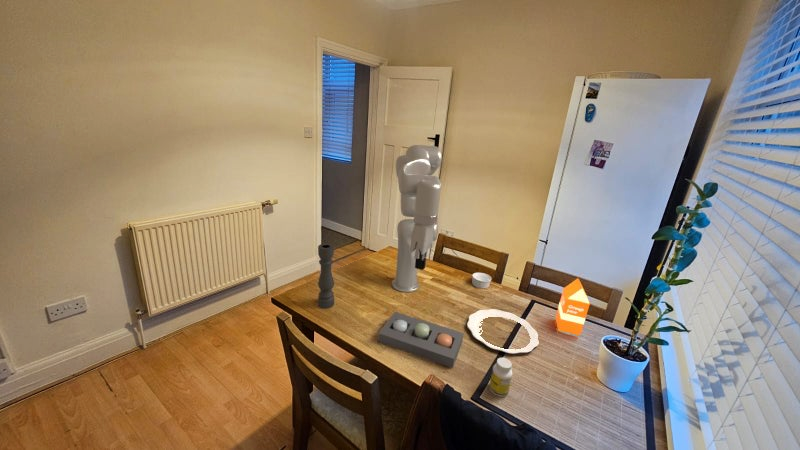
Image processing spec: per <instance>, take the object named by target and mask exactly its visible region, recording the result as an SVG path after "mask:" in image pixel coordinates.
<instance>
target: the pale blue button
mask: <svg viewBox="0 0 800 450" xmlns="http://www.w3.org/2000/svg"><path fill="white" fill-rule="evenodd" d="M393 330H396V331H399V332H402V333H405V332H406V331H407V323H406V322H405V321H404V320H396V321H394V323H393Z"/></svg>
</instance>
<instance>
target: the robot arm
mask: <svg viewBox="0 0 800 450" xmlns="http://www.w3.org/2000/svg"><path fill="white" fill-rule="evenodd" d="M442 154H443V153H442V151H441V149H440V148H439V147H438V146H436V145H435V146H434V145H423V144H413V145H411V146H409V147H408V148H407V149H406V151H405V154H402V155H400V156H398V157H397V158H396V161H395V172H396V176H397V177H396V178H397V181H398V182H397V183H398V184H397V185H398V191H399V193H400V213H401V214H402V216H404V217H407V218H405V219H402V220H400V221H399V222H398V223H397V226H396V227H397V228H396V229H397V231H396V233H397V254H396V255H397V257H396V258H397V259H396V270H395V278H394V279H393V280H392V281H391V286H392V287H393V289H395V291H400V292H401V293H403V292H404V293H411V292H416V291H418V289H419V288H420V282H419V281H418V280H417V279H418V277H417V276H418V270H421V271H424V270H425V269H426V263H427V255H428V251H429V249H431V247H432V246H433V243H434V242H435V241H436V240H437V239H438V235H439V224H438V223H439V221H438V215H439V206H440V198H441V191H442V180H440V178H439V177H438V176H436V175H434V174H435V173H436V172H437V170H438V169H439V167H440V166H441V164H442V161H443V160H442V159H443V155H442Z"/></svg>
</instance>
